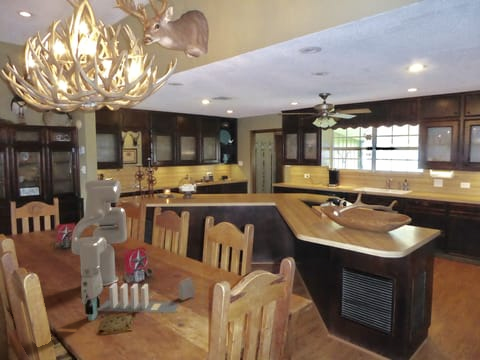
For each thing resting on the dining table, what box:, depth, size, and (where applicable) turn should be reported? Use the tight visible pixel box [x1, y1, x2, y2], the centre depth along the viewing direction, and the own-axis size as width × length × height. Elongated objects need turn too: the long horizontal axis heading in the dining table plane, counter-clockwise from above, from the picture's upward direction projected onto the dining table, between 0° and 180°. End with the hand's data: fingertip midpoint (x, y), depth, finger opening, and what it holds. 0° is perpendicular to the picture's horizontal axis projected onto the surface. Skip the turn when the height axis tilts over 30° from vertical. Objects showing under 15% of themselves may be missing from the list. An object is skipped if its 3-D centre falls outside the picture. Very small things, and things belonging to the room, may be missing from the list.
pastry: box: [98, 312, 137, 336], centre depth 141 cm, size 17×17×3 cm
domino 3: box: [119, 282, 129, 309], centre depth 155 cm, size 2×5×10 cm, turn 176°
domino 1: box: [87, 297, 99, 322], centre depth 144 cm, size 2×5×10 cm, turn 176°
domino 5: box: [140, 283, 150, 309], centre depth 155 cm, size 2×5×10 cm, turn 176°
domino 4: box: [129, 283, 139, 309], centre depth 155 cm, size 2×5×10 cm, turn 176°
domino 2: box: [108, 282, 119, 308], centre depth 156 cm, size 2×5×10 cm, turn 176°
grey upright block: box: [177, 277, 195, 301], centre depth 165 cm, size 4×7×10 cm, turn 132°
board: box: [97, 300, 180, 314], centre depth 155 cm, size 36×10×1 cm, turn 86°
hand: (92, 310), depth 144 cm, fingers closed on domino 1, 4 cm apart
